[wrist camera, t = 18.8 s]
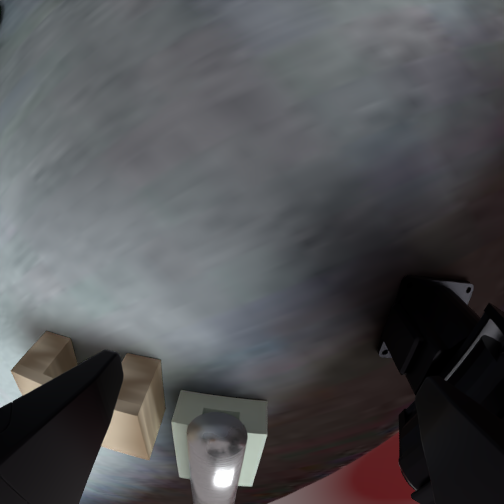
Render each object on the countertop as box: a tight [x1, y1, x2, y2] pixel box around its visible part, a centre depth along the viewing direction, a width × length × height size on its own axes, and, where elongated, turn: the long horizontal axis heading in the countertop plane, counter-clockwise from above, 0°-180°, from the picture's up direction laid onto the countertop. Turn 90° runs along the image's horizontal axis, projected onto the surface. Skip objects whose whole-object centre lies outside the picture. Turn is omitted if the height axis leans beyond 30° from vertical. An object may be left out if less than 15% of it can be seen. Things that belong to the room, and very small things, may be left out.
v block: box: [171, 390, 267, 487], centre depth 22 cm, size 7×10×4 cm
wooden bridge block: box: [11, 331, 166, 460], centre depth 20 cm, size 11×6×6 cm, turn 84°
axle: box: [187, 412, 248, 504], centre depth 20 cm, size 16×4×4 cm, turn 174°
